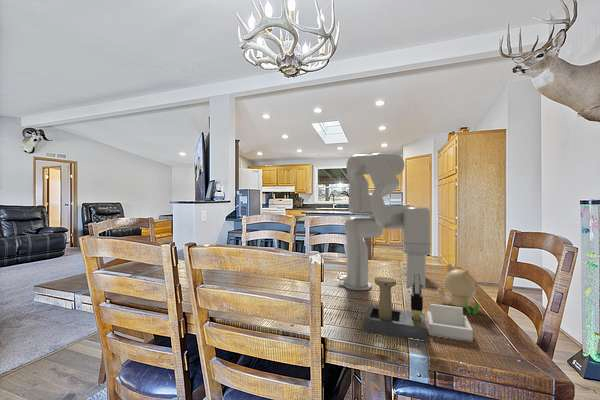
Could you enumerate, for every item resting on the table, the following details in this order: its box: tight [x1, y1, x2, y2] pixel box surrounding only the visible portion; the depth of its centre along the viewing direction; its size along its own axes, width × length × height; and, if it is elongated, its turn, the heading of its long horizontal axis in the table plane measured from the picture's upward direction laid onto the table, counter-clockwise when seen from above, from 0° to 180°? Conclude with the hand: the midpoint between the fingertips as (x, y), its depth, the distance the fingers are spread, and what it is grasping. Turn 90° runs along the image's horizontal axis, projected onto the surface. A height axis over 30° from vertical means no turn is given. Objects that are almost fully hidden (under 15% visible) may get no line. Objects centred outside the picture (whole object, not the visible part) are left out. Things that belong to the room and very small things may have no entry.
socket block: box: [363, 305, 428, 342], centre depth 86 cm, size 17×10×4 cm, turn 69°
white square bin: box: [426, 303, 474, 344], centre depth 84 cm, size 11×10×6 cm
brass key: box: [410, 308, 423, 321], centre depth 84 cm, size 3×3×7 cm
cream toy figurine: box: [437, 263, 479, 315], centre depth 103 cm, size 15×10×15 cm
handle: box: [374, 276, 397, 320], centre depth 87 cm, size 5×6×15 cm
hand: (416, 308), depth 83 cm, fingers closed
